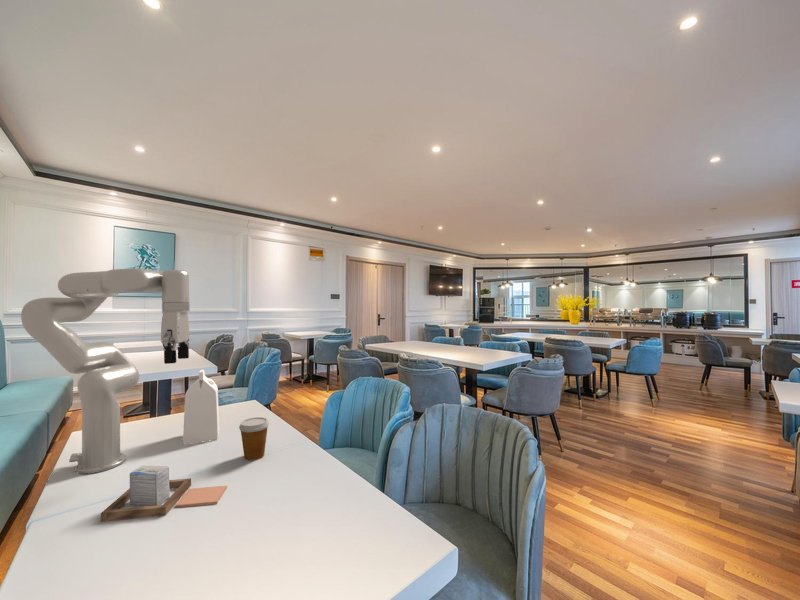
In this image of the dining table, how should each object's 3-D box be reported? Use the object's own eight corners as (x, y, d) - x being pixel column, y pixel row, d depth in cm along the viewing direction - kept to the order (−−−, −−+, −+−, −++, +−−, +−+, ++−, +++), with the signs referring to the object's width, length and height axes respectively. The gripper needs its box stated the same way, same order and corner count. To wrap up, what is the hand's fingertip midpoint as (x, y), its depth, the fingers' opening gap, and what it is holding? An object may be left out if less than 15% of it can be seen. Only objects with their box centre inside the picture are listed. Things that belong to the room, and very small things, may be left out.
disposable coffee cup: (258, 463, 114) (258, 427, 114) (232, 461, 116) (232, 425, 116) (274, 451, 123) (274, 417, 123) (250, 449, 125) (250, 416, 125)
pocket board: (100, 521, 84) (100, 513, 84) (136, 489, 98) (136, 482, 98) (165, 515, 86) (165, 507, 86) (191, 485, 101) (191, 478, 101)
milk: (187, 434, 140) (186, 369, 140) (219, 429, 145) (218, 367, 145) (182, 445, 129) (182, 375, 129) (217, 439, 134) (217, 372, 134)
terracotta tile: (175, 507, 90) (175, 505, 90) (189, 490, 98) (189, 488, 98) (216, 503, 91) (216, 501, 91) (227, 487, 99) (227, 485, 99)
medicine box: (170, 498, 94) (170, 465, 94) (157, 507, 90) (157, 474, 90) (143, 496, 95) (143, 464, 95) (129, 506, 91) (128, 472, 91)
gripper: (174, 308, 121) (175, 357, 121) (149, 308, 104) (150, 366, 104) (198, 307, 122) (199, 356, 122) (177, 308, 105) (178, 364, 105)
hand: (177, 360), depth 113 cm, fingers open, 9 cm apart
